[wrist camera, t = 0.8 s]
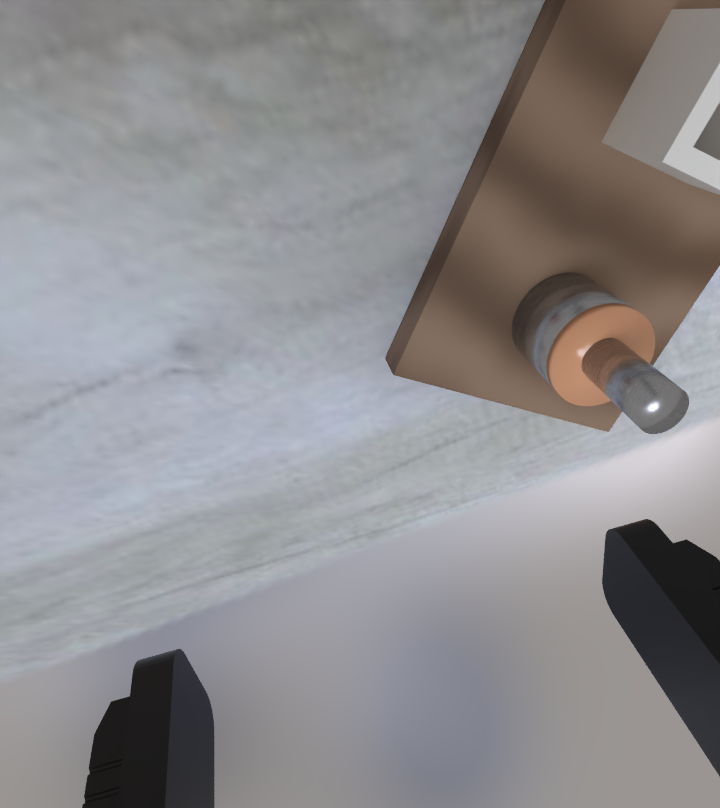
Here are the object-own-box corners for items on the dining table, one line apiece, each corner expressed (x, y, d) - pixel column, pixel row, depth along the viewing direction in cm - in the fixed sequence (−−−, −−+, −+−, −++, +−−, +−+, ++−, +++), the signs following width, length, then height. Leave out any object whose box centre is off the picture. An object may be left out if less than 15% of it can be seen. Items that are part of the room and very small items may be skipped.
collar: (671, 9, 28) (751, 7, 24) (761, 64, 30) (849, 71, 26) (601, 142, 31) (662, 161, 27) (688, 184, 33) (757, 208, 29)
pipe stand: (598, -119, 27) (829, -200, 17) (835, 40, 32) (1112, 50, 22) (385, 358, 37) (449, 484, 27) (592, 415, 43) (709, 537, 33)
